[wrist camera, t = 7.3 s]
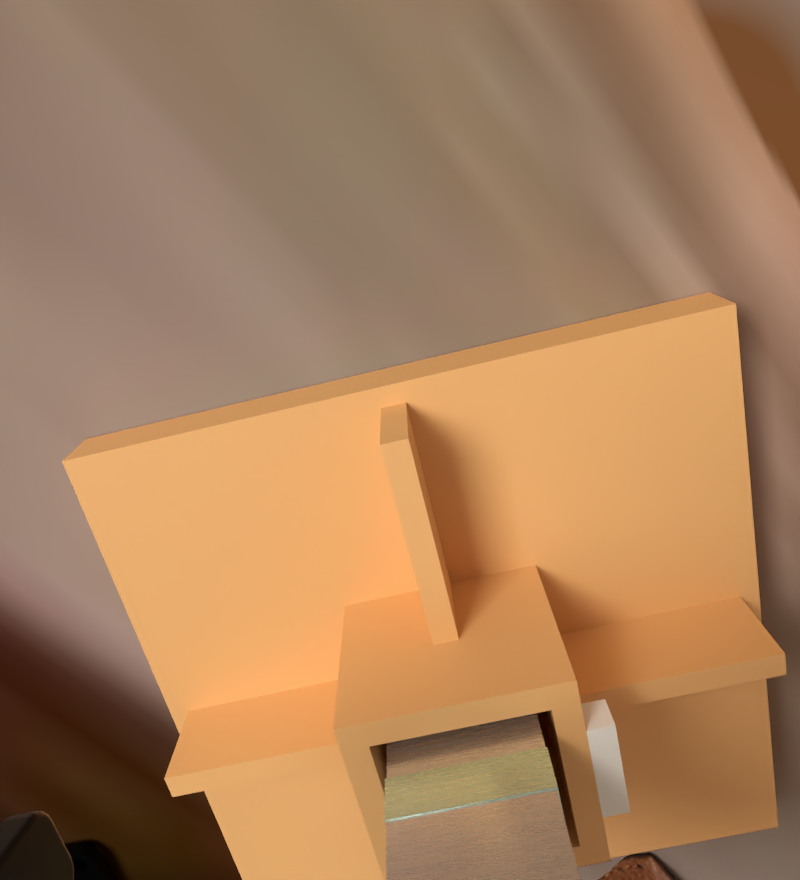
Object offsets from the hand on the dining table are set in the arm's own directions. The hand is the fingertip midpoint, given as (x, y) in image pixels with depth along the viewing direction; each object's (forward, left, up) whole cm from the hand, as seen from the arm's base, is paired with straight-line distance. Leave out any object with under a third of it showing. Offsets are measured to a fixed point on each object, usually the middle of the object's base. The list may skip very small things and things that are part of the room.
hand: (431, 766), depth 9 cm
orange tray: (-7, 0, -12) cm, 13 cm away
